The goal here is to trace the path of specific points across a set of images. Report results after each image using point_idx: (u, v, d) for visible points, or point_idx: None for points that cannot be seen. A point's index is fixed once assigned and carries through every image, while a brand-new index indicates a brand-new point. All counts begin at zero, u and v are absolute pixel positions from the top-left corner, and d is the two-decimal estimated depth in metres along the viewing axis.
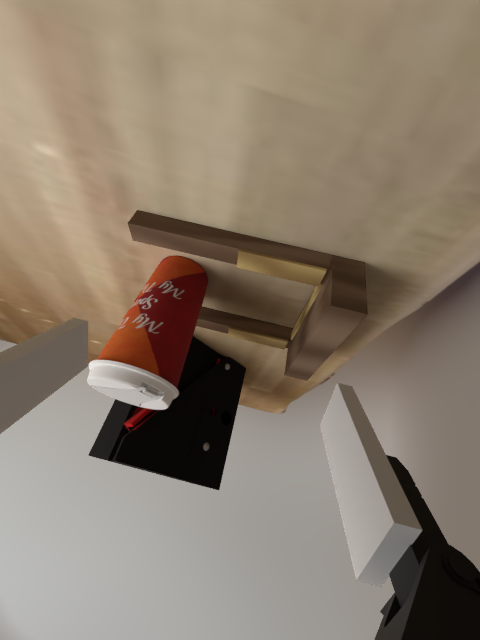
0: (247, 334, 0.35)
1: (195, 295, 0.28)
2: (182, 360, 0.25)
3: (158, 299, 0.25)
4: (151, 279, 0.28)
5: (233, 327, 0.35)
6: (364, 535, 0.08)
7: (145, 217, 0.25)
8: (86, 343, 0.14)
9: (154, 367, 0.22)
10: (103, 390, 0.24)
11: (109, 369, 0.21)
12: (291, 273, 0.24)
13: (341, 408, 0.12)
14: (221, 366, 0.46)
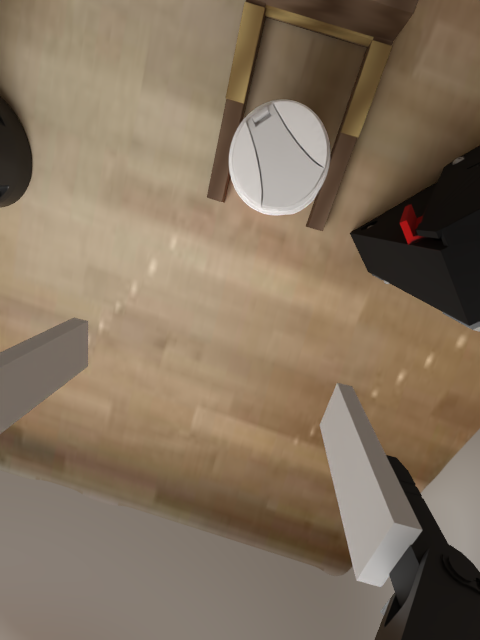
0: (355, 105, 0.29)
1: None
2: None
3: None
4: None
5: (342, 126, 0.30)
6: (364, 535, 0.08)
7: None
8: (86, 343, 0.14)
9: None
10: (274, 193, 0.21)
11: (232, 161, 0.21)
12: (248, 41, 0.28)
13: (341, 408, 0.12)
14: (449, 167, 0.30)
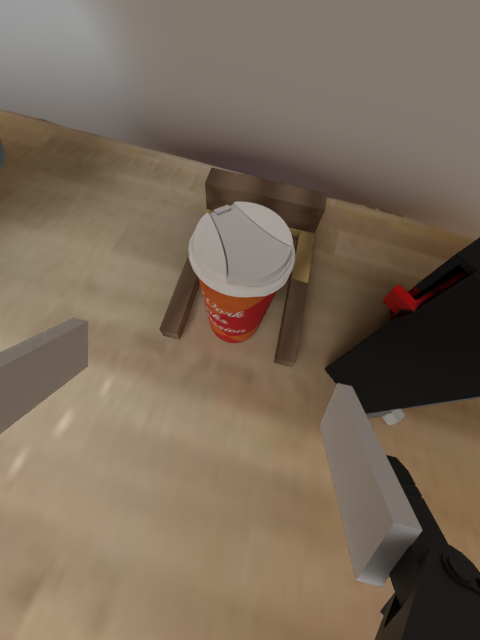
0: (298, 262, 0.34)
1: None
2: None
3: None
4: (209, 318, 0.29)
5: (291, 275, 0.34)
6: (364, 535, 0.08)
7: None
8: (87, 343, 0.14)
9: None
10: (241, 266, 0.18)
11: (192, 244, 0.20)
12: None
13: (341, 408, 0.12)
14: None
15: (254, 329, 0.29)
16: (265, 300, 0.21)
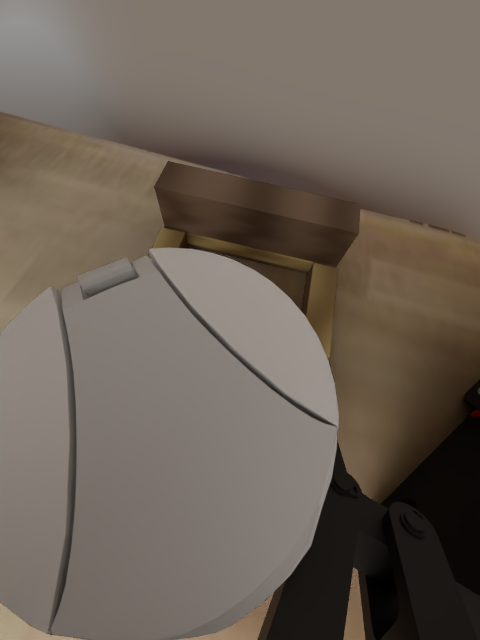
0: (312, 320, 0.20)
1: None
2: None
3: None
4: None
5: None
6: None
7: None
8: None
9: None
10: (129, 554, 0.04)
11: None
12: None
13: None
14: None
15: None
16: None
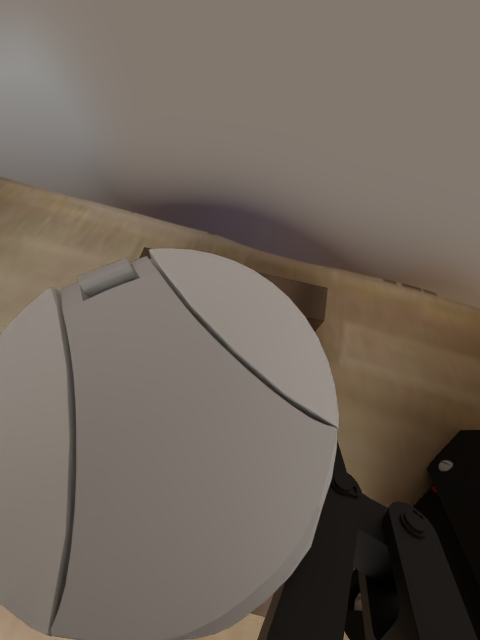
0: None
1: None
2: None
3: None
4: None
5: None
6: None
7: None
8: None
9: None
10: (128, 555, 0.04)
11: None
12: None
13: None
14: (441, 478, 0.20)
15: None
16: None
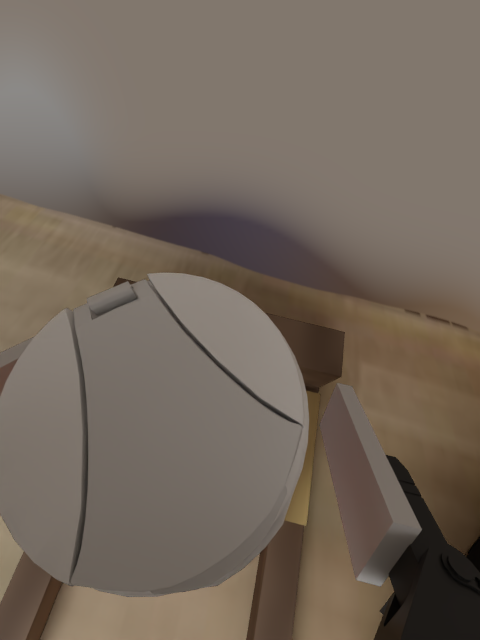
0: None
1: None
2: None
3: None
4: None
5: None
6: (364, 534, 0.08)
7: None
8: None
9: None
10: (130, 525, 0.05)
11: None
12: None
13: (341, 408, 0.12)
14: None
15: None
16: None
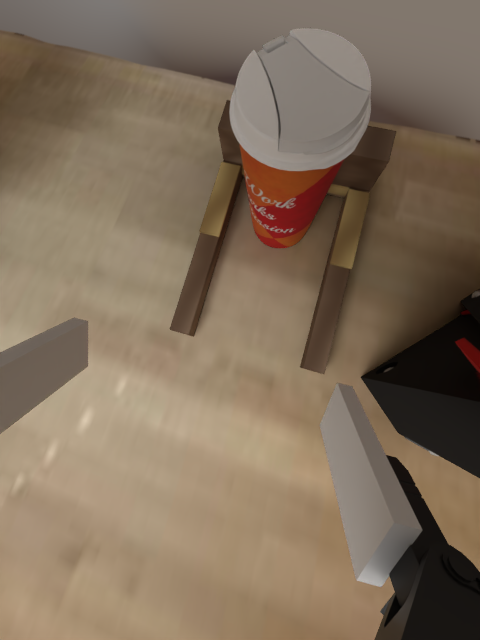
0: (341, 239, 0.26)
1: None
2: None
3: None
4: (252, 217, 0.25)
5: (331, 258, 0.26)
6: (364, 535, 0.08)
7: None
8: (86, 343, 0.14)
9: None
10: (298, 124, 0.14)
11: None
12: (225, 188, 0.28)
13: (341, 408, 0.12)
14: (471, 300, 0.24)
15: (304, 230, 0.25)
16: (323, 181, 0.17)
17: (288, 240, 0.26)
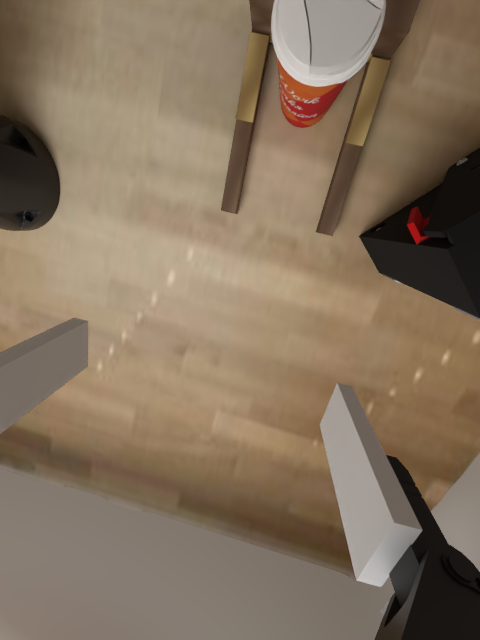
0: (358, 116, 0.31)
1: None
2: None
3: None
4: (282, 102, 0.30)
5: (347, 136, 0.32)
6: (364, 535, 0.08)
7: None
8: (86, 343, 0.14)
9: None
10: (324, 49, 0.19)
11: (276, 20, 0.20)
12: (255, 66, 0.30)
13: (341, 408, 0.12)
14: (453, 168, 0.31)
15: (326, 111, 0.30)
16: (342, 82, 0.23)
17: (312, 121, 0.31)
